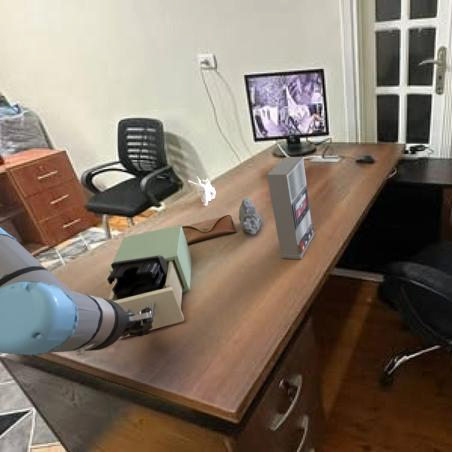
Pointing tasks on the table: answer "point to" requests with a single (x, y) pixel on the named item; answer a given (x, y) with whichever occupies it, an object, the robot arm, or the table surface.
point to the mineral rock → (249, 217)
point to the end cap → (138, 276)
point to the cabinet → (159, 250)
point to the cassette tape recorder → (291, 207)
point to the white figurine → (204, 191)
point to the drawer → (158, 300)
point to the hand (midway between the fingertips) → (144, 328)
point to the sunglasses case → (209, 229)
